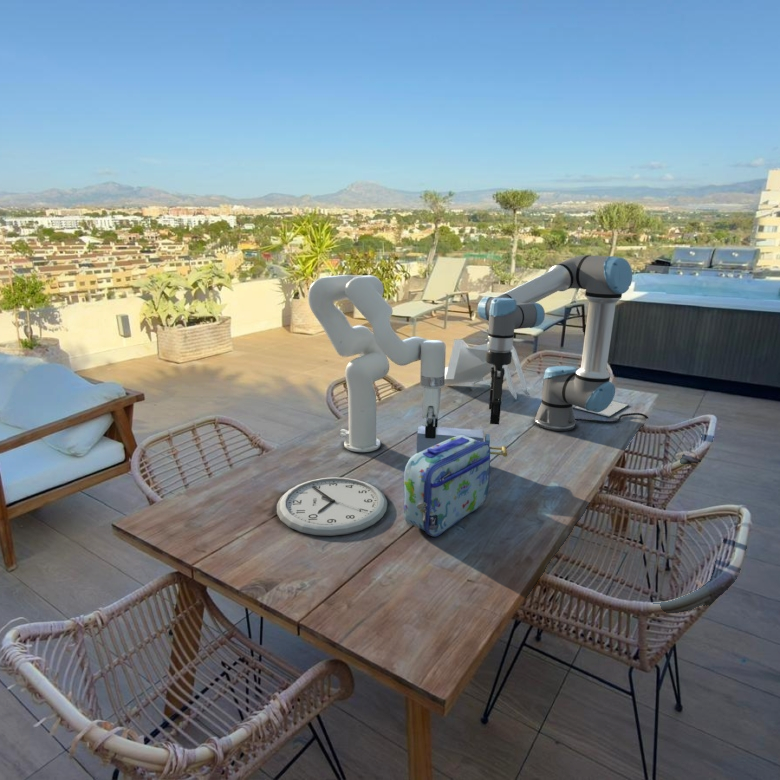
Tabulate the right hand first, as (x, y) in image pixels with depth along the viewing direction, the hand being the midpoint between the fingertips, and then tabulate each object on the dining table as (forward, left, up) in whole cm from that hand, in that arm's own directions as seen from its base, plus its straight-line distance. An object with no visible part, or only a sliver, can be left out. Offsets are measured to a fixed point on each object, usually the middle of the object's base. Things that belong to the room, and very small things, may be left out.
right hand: (493, 416), depth 164 cm
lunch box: (+13, +35, -17) cm, 41 cm away
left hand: (+19, +2, -6) cm, 20 cm away
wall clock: (+44, +33, -17) cm, 58 cm away
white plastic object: (0, -78, -17) cm, 80 cm away
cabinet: (+13, +2, -17) cm, 21 cm away
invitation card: (-52, -66, -17) cm, 86 cm away
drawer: (+8, +2, -16) cm, 18 cm away
